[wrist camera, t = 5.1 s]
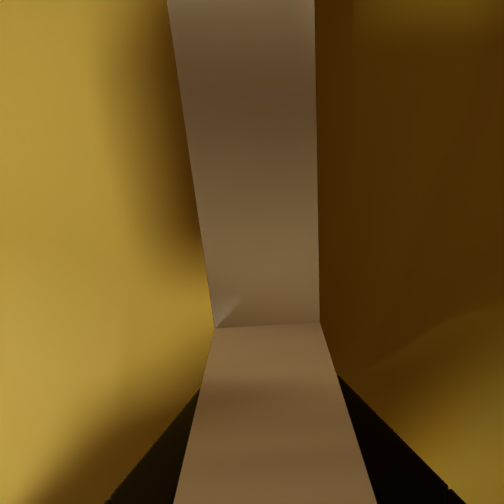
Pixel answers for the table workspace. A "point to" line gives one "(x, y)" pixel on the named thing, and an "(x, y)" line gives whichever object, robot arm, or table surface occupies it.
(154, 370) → the table surface
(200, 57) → the birch pusher
